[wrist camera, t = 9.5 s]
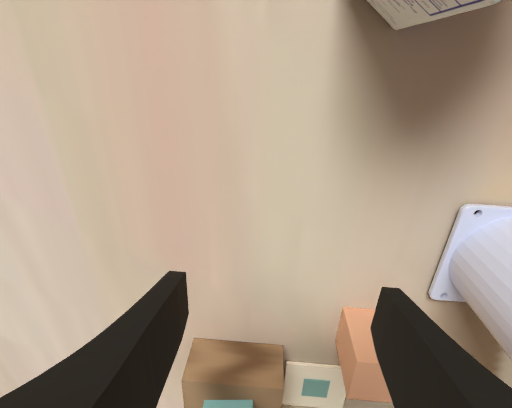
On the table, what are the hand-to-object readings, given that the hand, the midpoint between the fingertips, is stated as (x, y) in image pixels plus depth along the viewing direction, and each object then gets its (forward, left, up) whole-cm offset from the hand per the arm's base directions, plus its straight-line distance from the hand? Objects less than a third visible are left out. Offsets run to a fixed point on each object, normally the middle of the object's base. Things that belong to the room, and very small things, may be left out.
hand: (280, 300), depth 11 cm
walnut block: (+3, +19, -10) cm, 22 cm away
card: (-5, +20, -10) cm, 23 cm away
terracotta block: (-8, +12, -10) cm, 18 cm away
